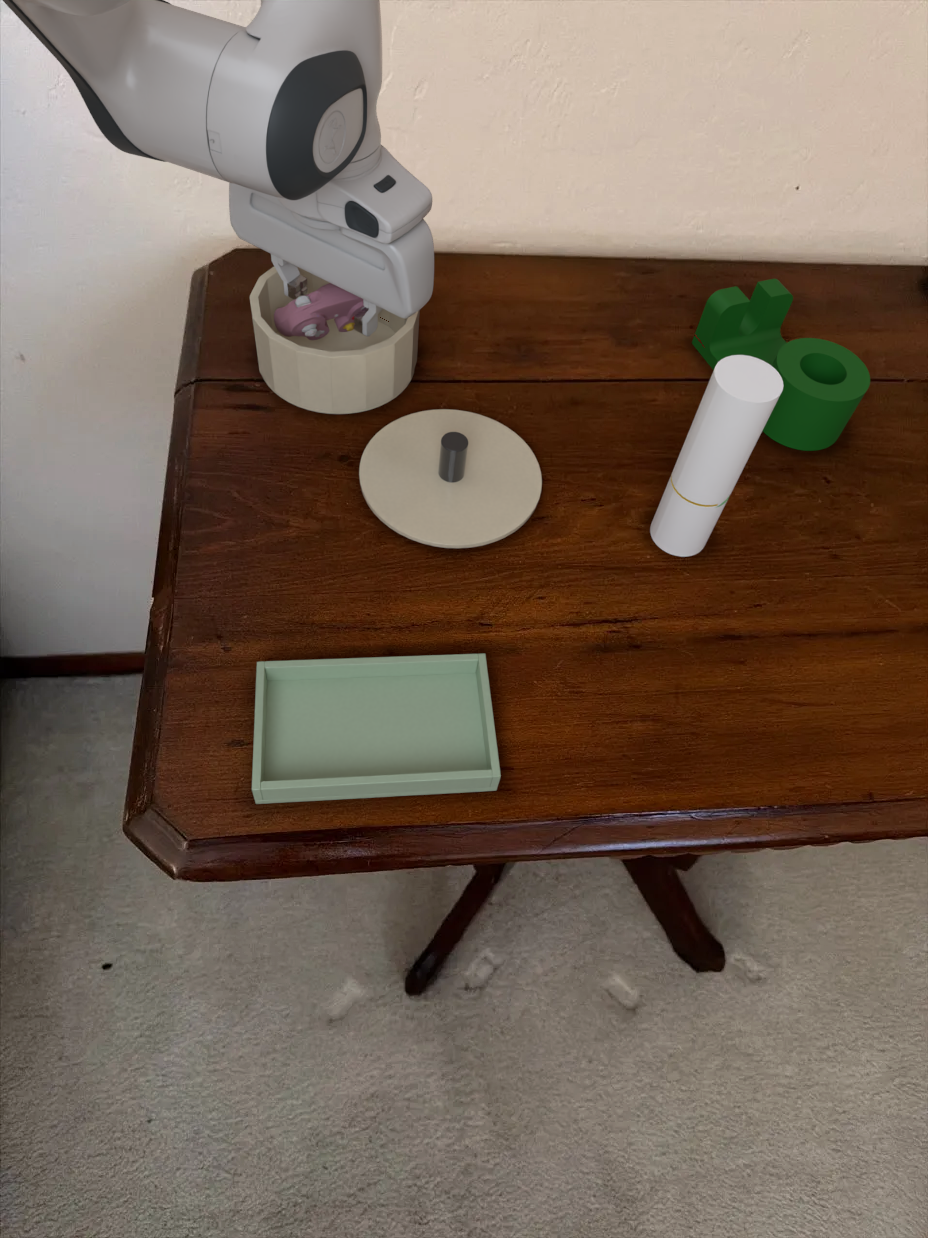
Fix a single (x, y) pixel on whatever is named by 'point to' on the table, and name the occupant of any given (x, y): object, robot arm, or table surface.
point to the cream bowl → (331, 355)
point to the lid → (450, 478)
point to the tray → (373, 728)
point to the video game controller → (318, 312)
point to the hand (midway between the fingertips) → (331, 313)
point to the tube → (715, 452)
